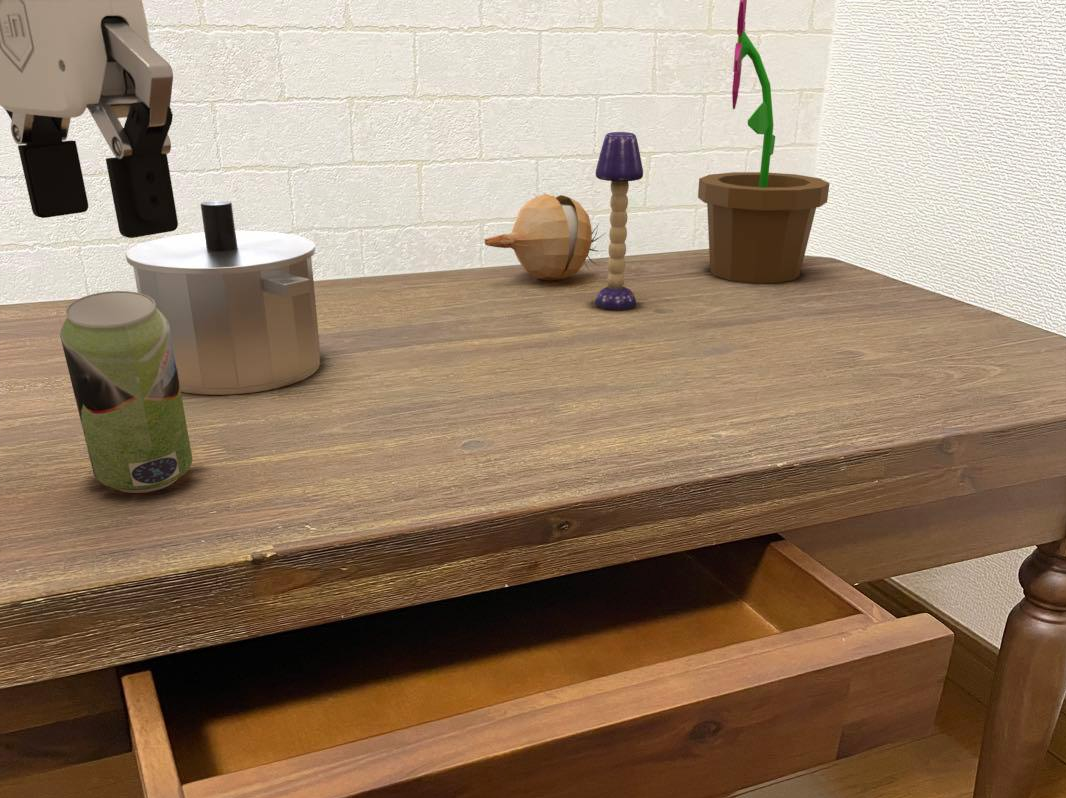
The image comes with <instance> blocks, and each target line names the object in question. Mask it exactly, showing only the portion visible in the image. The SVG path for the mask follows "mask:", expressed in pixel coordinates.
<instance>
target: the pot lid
mask: <svg viewBox="0 0 1066 798" xmlns="http://www.w3.org/2000/svg"><path fill="white" fill-rule="evenodd" d="M200 211H201V218H202V224H203V232H197V233H196V232H195V233H187V234H180V235H179V234H178V235H172V236H166V237H161V238H156V239H153V240H148V241H144V242H142V243H138V244H137V245H134V246H133V247H130V248H129V249H128V250H127V251H126V252H125V258H126V259H125V260H126V262H127V264H129V265H130V266H131V267H135V268H138V269H142V270H146V271H151V272H158V273H167V274H183V275H216V274H233V273H245V272H254V271H261V270H268V269H274V268H279V267H284V266H288V265H292V264H295V263H298V262H301V261H304V260H306V259H308V258H310V257H311V258H312V257H313V256H314V255H315V253H316V244H315V242H313V240H311V239H309V238H306V237H304V236H300V235H297V234H291V233H283V232H275V231H263V230H262V231H258V230H236V223H235V222H236V221H235V216H234V207H233V202H232V201H230V200H221V199H220V200H207V201H203V202H200Z"/></svg>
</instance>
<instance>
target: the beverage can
mask: <svg viewBox="0 0 1066 798" xmlns="http://www.w3.org/2000/svg"><path fill="white" fill-rule="evenodd" d="M65 316H66V318H65V320H64V322H63V324H62V326H61V329H60V342H61V345H62V350H63V353H64V357H65V361H66V366H67V370H68V375H69V378H70V382H71V387H72V390H73V394H74V400H75V403H76V408H77V412H78V417H79V420H80V424H81V428H82V431H83V436H84V440H85V445H86V449H87V453H88V457H89V462H90V465H91V469H92V474H93V476H94V477H95V479H96V480H97V481H98V482H99V483H101V484H102V485H104V486H106V487H109V488H112V489H116V490H118V491H120V492H124V493H129V494H144V493H153V492H154V491H155V492H156V491H159V490H162V489H165V488H168V487H170V486H171V485H172V484H174V483H175V482H177V481H178V480H179V479H180V478H182V477H183V476H184V475H185V474H186V473H187V472H188V471H189V470H190V468H191V466H192V464H193V453H192V448H191V443H190V437H189V430H188V426H187V420H186V414H185V408H184V402H183V397H182V396H183V395H182V392H181V390H180V384H179V378H178V372H177V367H176V361H175V355H174V349H173V344H172V338H171V332H170V327H169V323H168V321H167V319H166V318H165V316H164V315H163V314H162V313H161V312H160V311H159V310H158V309H157V308H156V305H155V302H154V300H153V299H152V298H150V297H149V296H147V295H144V294H141V293H138V291H129V290H110V291H103V292H95V293H92V294H89V295H85V296H82V297H80V298H78V299H76V300H73V301H72V302H71V303H70V304H69V305H68V306H67V307H66V309H65Z"/></svg>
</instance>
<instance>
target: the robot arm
mask: <svg viewBox="0 0 1066 798" xmlns="http://www.w3.org/2000/svg"><path fill="white" fill-rule="evenodd" d="M149 33H150V32H149V28H148V21H147V18H146V13H145V8H144V3H143V0H0V107H2V108H3V109H4V110H5V112H6V113H7V115H8V117H9V119H10V120H11V123H10V131H11V136H12V139H13V141H14V142H15V144H17V149H18V153H19V157H20V162H21V166H22V171H23V176H24V180H25V184H26V185H25V186H26V189H27V194H28V198H29V202H30V207H31V211H32V214H33V215H34V216H35V217H37V218H41V219H48V218H54V217H60V216H67V215H74V214H82V213H86V212H87V211H88V209H89V202H88V196H87V191H86V186H85V181H84V176H83V171H82V167H81V165H82V164H81V162H80V156H79V152H78V146H77V142H76V140H72V139H71V140H67V138H68V136H69V135H68V134H69V129H70V124H71V119H72V118H79V117H81V116H82V115H83V114H84V113H85V112H86V110H88V112H89V113H90V115H91V116H92V119H93V120H94V122H95V124H96V126H97V128H98V129H99V131H100V133H101V134H102V136H103V138H104V140H105V142H106V143H107V146H108V147H109V149H110V150H111V152H112V154H113V155H114V157H107V158H106V157H105V163H106V169H107V174H108V179H109V184H110V185H109V186H110V190H111V194H112V200H113V204H114V210H115V216H116V221H117V226H118V231H119V233H120V235H121V236H122V237H125V238H128V239H135V238H140V237H147V236H153V235H159V234H166V233H171V232H175V231H177V229H178V228H179V227H178V226H179V221H178V214H177V208H176V203H175V197H174V190H173V184H172V179H171V172H170V166H169V160H168V154H170V152H171V150H172V143H171V138H170V136H169V131H170V129H171V126H172V123H173V116H174V113H173V111H172V108H171V101H172V91H173V84H174V83H173V81H174V73H173V67H171V65H170V63H169V62H168V61H167V60H165V58H163V56H161V54H159V53H158V52H157V51H156V50H155V49H154V48H153V47H152V44H151V39H150V38H151V37H150V34H149ZM122 118H123V119H124V118H126V119H125V122H124V125H122V123H121V122H120V120H119V119H122Z"/></svg>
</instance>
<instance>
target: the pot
mask: <svg viewBox="0 0 1066 798" xmlns="http://www.w3.org/2000/svg"><path fill="white" fill-rule="evenodd" d="M312 261H313V260H312V256H311V257H310V258H308V259H306V260H304V261H301V262H298V263H295V264H292V265H288V266H284V267H279V268H274V269H268V270H261V271H254V272H245V273H233V274H216V275H183V274H167V273H158V272H151V271H146V270H142V269H138V268H135V267H133V266H132V267H133V272H134V273H133V275H134V278H135V279H134V280H135V285H136V292H137V293H141V294H144V295H147V296H149V297H150V298H152V299H153V300H154V302H155V305H156V308H157V309H158V310H159V311H160V312H161V313H162V314H163V315H164V316H165V318H166V319H167V321H168V323H169V327H170V332H171V338H172V344H173V349H174V355H175V361H176V367H177V372H178V378H179V384H180V390H181V393H186V394H192V395H193V394H194V395H205V396H206V395H208V396H219V395H220V396H224V395H225V396H226V395H227V396H228V395H229V396H230V395H243V394H252V393H258V392H260V393H261V392H266V391H271V390H276V389H280V388H283V387H287V386H290V385H293V384H296V383H299V382H301V381H304V380H306V379H308V378H309V377H311V376H313V375H314V374H315V373H316V372H317V371H318V370H319V369H320V366H321V362H320V361H321V360H320V359H321V356H322V355H321V345H320V335H319V324H318V314H317V313H318V312H317V303H316V292H315V283H314V281H315V280H314V269H313V262H312Z"/></svg>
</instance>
